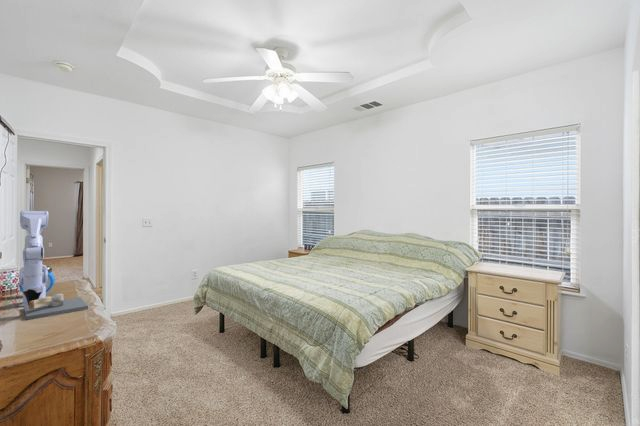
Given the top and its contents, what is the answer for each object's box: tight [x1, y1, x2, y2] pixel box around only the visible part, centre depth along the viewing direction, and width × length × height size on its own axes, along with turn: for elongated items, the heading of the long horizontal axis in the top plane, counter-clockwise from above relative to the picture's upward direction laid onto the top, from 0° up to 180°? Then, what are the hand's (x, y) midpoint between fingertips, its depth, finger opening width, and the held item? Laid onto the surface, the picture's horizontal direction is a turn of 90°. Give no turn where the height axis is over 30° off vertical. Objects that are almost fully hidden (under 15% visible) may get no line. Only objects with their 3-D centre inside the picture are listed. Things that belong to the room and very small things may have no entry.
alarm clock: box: [18, 265, 56, 294], centre depth 157 cm, size 13×6×15 cm, turn 126°
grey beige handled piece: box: [29, 293, 64, 309], centre depth 132 cm, size 13×5×4 cm, turn 169°
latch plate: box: [23, 296, 89, 321], centre depth 136 cm, size 20×20×2 cm
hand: (32, 306), depth 129 cm, fingers closed
